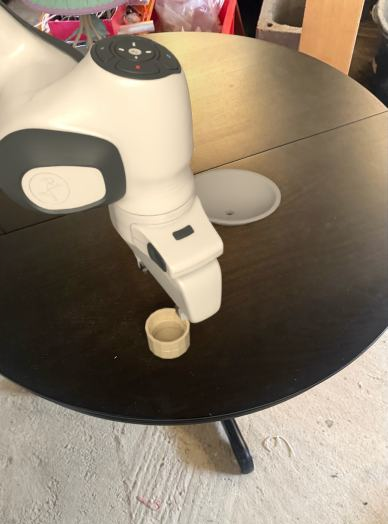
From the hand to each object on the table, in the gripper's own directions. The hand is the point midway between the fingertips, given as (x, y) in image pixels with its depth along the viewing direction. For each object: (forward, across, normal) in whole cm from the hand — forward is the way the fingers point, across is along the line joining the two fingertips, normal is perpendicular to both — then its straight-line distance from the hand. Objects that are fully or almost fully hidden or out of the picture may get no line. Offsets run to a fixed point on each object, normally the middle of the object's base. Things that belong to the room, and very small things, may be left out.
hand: (165, 291), depth 62 cm
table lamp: (+12, -59, +19) cm, 63 cm away
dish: (+13, -18, +24) cm, 32 cm away
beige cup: (+12, 0, 0) cm, 12 cm away
